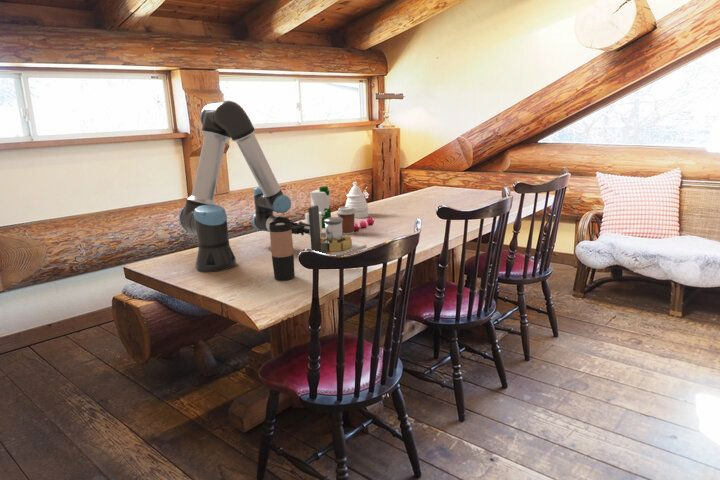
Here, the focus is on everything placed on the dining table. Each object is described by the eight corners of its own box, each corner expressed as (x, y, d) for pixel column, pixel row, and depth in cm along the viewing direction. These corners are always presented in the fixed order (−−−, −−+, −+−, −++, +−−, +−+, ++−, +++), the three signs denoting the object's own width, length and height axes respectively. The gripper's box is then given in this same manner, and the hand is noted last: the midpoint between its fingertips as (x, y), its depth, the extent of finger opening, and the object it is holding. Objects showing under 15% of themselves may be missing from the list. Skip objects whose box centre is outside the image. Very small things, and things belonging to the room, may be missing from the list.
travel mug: (269, 280, 187) (264, 224, 182) (280, 273, 194) (275, 220, 189) (289, 281, 184) (284, 225, 179) (299, 275, 191) (294, 220, 186)
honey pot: (344, 214, 295) (342, 182, 290) (367, 212, 296) (365, 180, 291) (346, 219, 282) (344, 185, 278) (370, 217, 283) (368, 183, 279)
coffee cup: (334, 234, 249) (333, 209, 246) (342, 230, 257) (340, 205, 254) (352, 235, 246) (351, 210, 243) (359, 230, 254) (358, 206, 251)
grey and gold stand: (353, 255, 208) (351, 205, 203) (311, 258, 207) (308, 208, 202) (350, 241, 230) (348, 196, 225) (312, 244, 229) (309, 198, 224)
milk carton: (326, 228, 262) (324, 188, 257) (310, 227, 265) (307, 188, 260) (334, 224, 270) (331, 185, 265) (318, 224, 273) (315, 185, 268)
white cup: (320, 235, 248) (319, 214, 246) (304, 235, 250) (302, 214, 247) (324, 231, 256) (323, 211, 253) (309, 231, 257) (307, 211, 255)
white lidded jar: (334, 252, 218) (332, 221, 215) (322, 249, 223) (320, 219, 220) (347, 248, 223) (346, 218, 220) (335, 246, 228) (333, 216, 225)
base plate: (329, 258, 210) (329, 255, 210) (302, 251, 222) (302, 249, 222) (366, 246, 225) (365, 244, 225) (338, 241, 237) (338, 238, 236)
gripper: (291, 230, 232) (328, 237, 216) (267, 236, 222) (304, 244, 207) (290, 213, 230) (327, 219, 214) (265, 219, 221) (303, 225, 205)
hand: (316, 231), depth 210 cm, fingers closed
